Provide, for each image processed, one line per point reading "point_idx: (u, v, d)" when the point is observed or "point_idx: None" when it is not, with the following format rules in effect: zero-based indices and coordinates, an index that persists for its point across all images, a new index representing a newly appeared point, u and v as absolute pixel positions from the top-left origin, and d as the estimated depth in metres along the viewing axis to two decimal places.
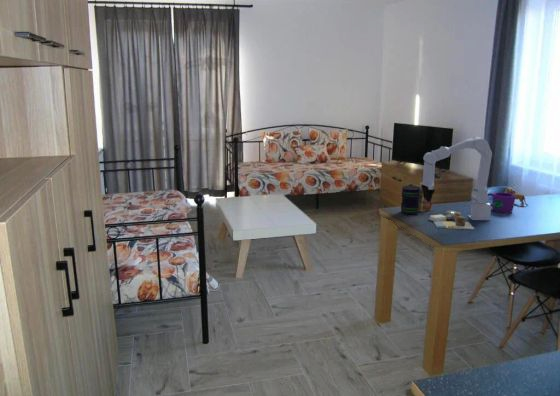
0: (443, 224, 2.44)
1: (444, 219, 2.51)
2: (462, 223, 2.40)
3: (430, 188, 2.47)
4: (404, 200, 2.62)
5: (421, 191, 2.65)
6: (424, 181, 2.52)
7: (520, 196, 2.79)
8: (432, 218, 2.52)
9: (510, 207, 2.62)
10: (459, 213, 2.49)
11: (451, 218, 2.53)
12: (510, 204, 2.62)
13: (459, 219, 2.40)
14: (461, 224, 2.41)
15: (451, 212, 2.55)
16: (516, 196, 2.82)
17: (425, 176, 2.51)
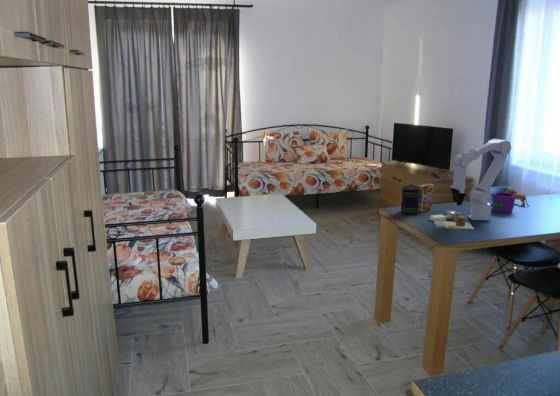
0: (443, 224, 2.44)
1: (444, 219, 2.51)
2: (462, 223, 2.40)
3: (461, 192, 2.39)
4: (404, 200, 2.62)
5: (421, 191, 2.65)
6: (455, 184, 2.44)
7: (521, 196, 2.78)
8: (432, 218, 2.52)
9: (510, 207, 2.62)
10: (459, 213, 2.49)
11: (451, 218, 2.53)
12: (510, 204, 2.62)
13: (459, 219, 2.40)
14: (461, 224, 2.41)
15: (451, 212, 2.55)
16: (517, 196, 2.81)
17: (456, 179, 2.43)
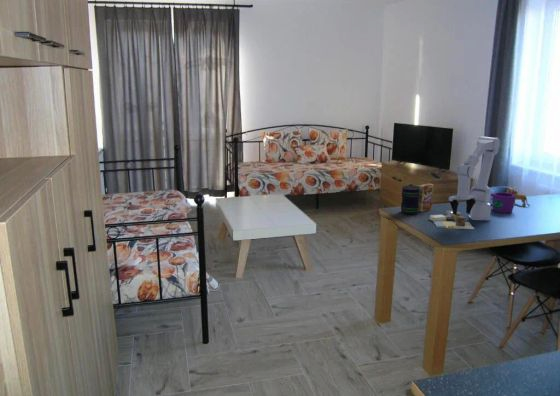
0: (443, 224, 2.44)
1: (444, 219, 2.51)
2: (462, 223, 2.40)
3: (449, 199, 2.38)
4: (404, 200, 2.62)
5: (421, 191, 2.65)
6: None
7: (522, 196, 2.78)
8: (432, 218, 2.52)
9: (510, 207, 2.62)
10: (459, 213, 2.49)
11: (451, 218, 2.53)
12: (510, 204, 2.62)
13: (459, 219, 2.40)
14: (461, 224, 2.41)
15: (451, 212, 2.55)
16: (518, 196, 2.81)
17: None
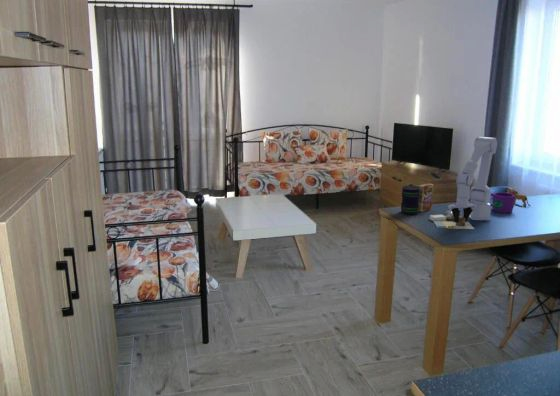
0: (443, 224, 2.44)
1: (444, 219, 2.51)
2: (462, 223, 2.40)
3: (449, 208, 2.39)
4: (404, 200, 2.62)
5: (421, 191, 2.65)
6: None
7: (522, 196, 2.78)
8: (431, 218, 2.52)
9: (510, 207, 2.62)
10: None
11: (451, 218, 2.53)
12: (510, 204, 2.62)
13: (459, 219, 2.40)
14: (461, 224, 2.41)
15: (451, 212, 2.55)
16: (518, 196, 2.81)
17: None
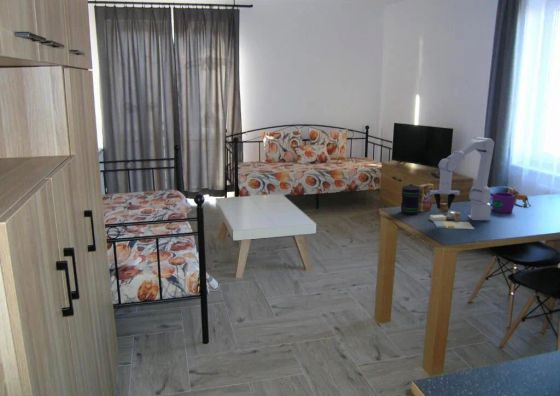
0: (443, 224, 2.44)
1: (444, 219, 2.51)
2: (444, 210, 2.40)
3: (430, 193, 2.40)
4: (404, 200, 2.62)
5: (421, 191, 2.65)
6: None
7: (523, 197, 2.78)
8: (431, 218, 2.52)
9: (510, 207, 2.62)
10: (459, 213, 2.49)
11: (451, 218, 2.53)
12: (510, 204, 2.62)
13: (441, 205, 2.40)
14: (443, 211, 2.40)
15: (451, 212, 2.55)
16: (519, 197, 2.80)
17: None
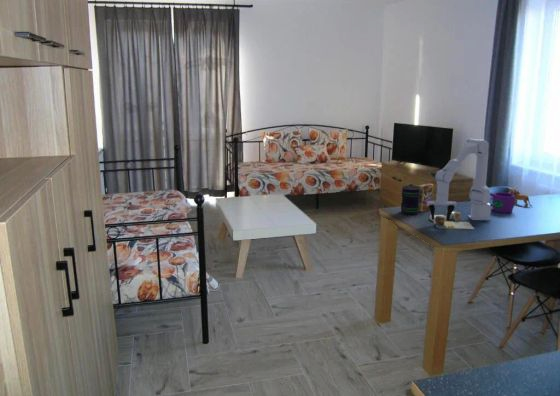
0: None
1: None
2: (440, 222, 2.42)
3: (427, 204, 2.42)
4: (404, 200, 2.62)
5: (421, 191, 2.65)
6: None
7: (524, 197, 2.77)
8: (431, 218, 2.52)
9: (510, 207, 2.62)
10: (459, 213, 2.49)
11: (451, 218, 2.53)
12: (510, 204, 2.62)
13: (437, 218, 2.42)
14: (439, 223, 2.42)
15: None
16: (520, 197, 2.80)
17: None
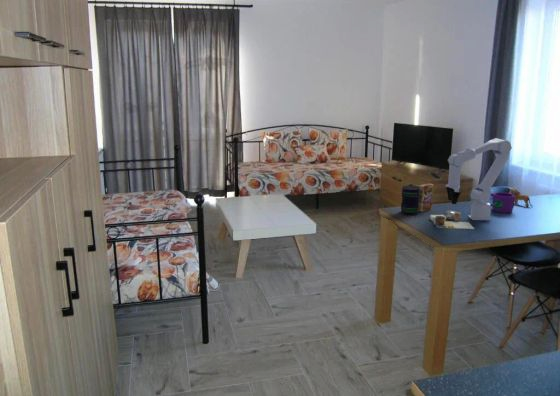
0: None
1: None
2: (440, 223, 2.42)
3: (456, 190, 2.42)
4: (404, 200, 2.62)
5: (421, 191, 2.65)
6: (450, 183, 2.47)
7: (525, 197, 2.77)
8: (431, 217, 2.53)
9: (510, 207, 2.62)
10: (459, 213, 2.49)
11: (451, 218, 2.53)
12: (510, 204, 2.62)
13: (437, 218, 2.42)
14: (439, 223, 2.42)
15: (451, 212, 2.55)
16: (521, 197, 2.79)
17: (451, 178, 2.46)
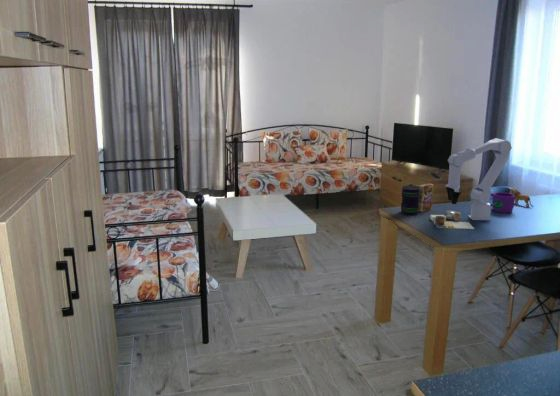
0: None
1: None
2: (440, 223, 2.42)
3: (456, 190, 2.42)
4: (404, 200, 2.62)
5: (421, 191, 2.65)
6: (450, 183, 2.47)
7: (525, 197, 2.76)
8: (431, 217, 2.53)
9: (510, 207, 2.62)
10: (459, 213, 2.49)
11: (451, 218, 2.53)
12: (510, 204, 2.62)
13: (437, 218, 2.42)
14: (439, 223, 2.42)
15: (451, 212, 2.55)
16: (521, 197, 2.79)
17: (451, 178, 2.46)
